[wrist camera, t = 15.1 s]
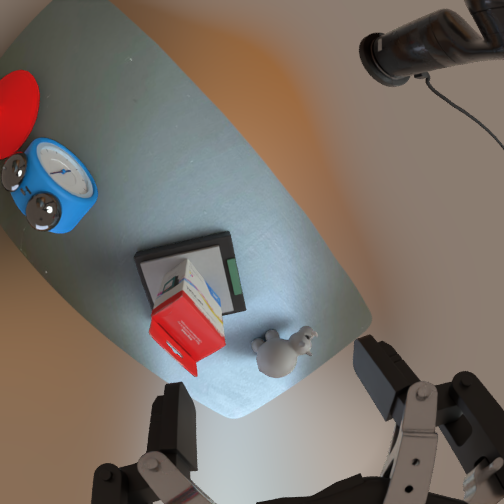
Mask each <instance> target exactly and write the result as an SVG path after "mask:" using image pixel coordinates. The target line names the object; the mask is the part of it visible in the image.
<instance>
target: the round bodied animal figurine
mask: <svg viewBox="0 0 504 504" xmlns="http://www.w3.org/2000/svg"><path fill="white" fill-rule="evenodd" d="M313 336H316V337H318V334H317V332H315V331H314V330H313V329H312V328H311V327H309V326H303V327H302V328H300V330H299V331H298V332H297V333H294V334H293V335H291V337H290V338H289V340H284V339H280V337H279V333H278V332H277V331H276V330H269V331H267V332H266V334H265V339H266V342H264V340H263V339H260V338H257V339H254V340H253V341H252V343H251V347H252V349H253V350H254V352H256V353H257V357H256V360H257V365H258V369H259V371H260V372H262V373H264V374H265V375H267V376H269V377H273V378H280V377H284V376H286V375H288V374H289V373H291V372H292V371H293V369H294V368H295V366H296V363H297V357H298V356H299V355H304V354H307V355H309V356H312V353H311V352H310V349H311V347H312V344H311V339H312V338H313Z"/></svg>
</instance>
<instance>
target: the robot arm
mask: <svg viewBox="0 0 504 504" xmlns="http://www.w3.org/2000/svg"><path fill="white" fill-rule="evenodd" d="M464 2H465V4H466V6H467V8H468V10H469V12H470V14H471V15H472V17H473V19H474V21H475V22H476V24H477V26H478V28H479V30H480V32H481V34H482V36H483V37H481V36H480V35H479V34H478V33H477V32H476V31H475V30H474V29H473V28H472V27H471V26H470V25H469V24H468V23H467V22H466V21H465V20H464V19H463V18H462V17H461V16H460V15H458V14H457V13H456V12H454V11H452V10H450V9H440V10H437V11H435V12H433V13H430V14H428V15H425V16H423V17H421V18H418V19H416V20H414V21H412V22H410V23H407V24H405V25H403V26H401V27H399V28H396V29H394V30H392V31H390V32H388V33H386V34H384V35H382V36H380V37H377V38H376V39H374V40H373V41H372V42H371V43H370V47H369V52H370V56H371V59H372V61H373V63H374V65H375V66H376V68H377V69H378V70H379V71H380V72H381V73H382V74H383V75H385V76H386V77H388V78H390V79H394V80H398V79H402V78H404V77H407V76H412V75H414V77H415V78H417V79H423V78H426V84H427V85H428V87H429V88H430V89H431V90H432V91H433V92H434V93H435V94H436V95H438V96H439V97H440V98H442V99H443V100H445V101H446V102H447V103H449V104H450V105H451V106H453V107H454V108H456V109H458V110H459V111H461V112H462V113H464V114H466V115H467V116H468V117H470V118H471V119H472V120H474V121H475V122H476V123H478V124H479V125H480V126H481V127H483V128H484V129H485V130H486V131H487V132H488V133H489V134H490V135H491V136H492V137H493V138H494V139H495V140H496V141H497V142H498V143H499V144H500V146H501V147H502V148H503V150H504V146H503V145H502V143H501V142H500V141H499V140H498V139H497V138H496V136H495V135H493V134H492V132H491V131H490V130H489V129H488V128H486V127H485V126H484V125H483V124H482V123H481V122H480V121H478V120H477V119H476V118H474V117H473V116H472V115H470V114H469V113H468V112H466V111H465V110H463V109H462V108H460V107H458V106H457V105H455V104H454V103H452V102H451V101H450V100H449V99H447V98H446V97H445V96H443V95H442V94H440V93H439V92H438V91H436V90H435V89H434V88H433V87H432V86H431V84H430V82H429V81H430V75H429V73H428V71H432V70H436V69H441V68H445V67H451V66H455V65H461V64H468V63H473V62H478V61H487V60H504V0H464ZM353 367H354V370H355V372H356V374H357V376H358V377H359V379H360V381H361V382H362V384H363V385H364V387H365V389H366V390H367V392H368V393H369V395H370V396H371V398H372V400H373V402H374V403H375V405H376V406H377V408H378V410H379V411H380V413H381V414H382V416H383V418H384V420H385V421H388V420H390V419H392V418H393V419H394V420H395V422H396V424H395V427H394V431H393V436H392V440H391V444H390V448H389V452H388V455H387V459H386V461H385V464H384V466H383V469H382V472H381V475H380V477H377V476H375V477H374V476H370V477H362V476H361V474H357V475H355V476H352V477H349V478H347V479H344V480H341V481H338V482H336V483H334V484H332V485H331V486H329V487H327V488H325V489H324V490H322V491H320V492H318V493H316V494H315V495H312V496H307V497H285V498H278V499H273V500H268V501H263V502H257V503H256V504H497V503H498V502H499V501H500V500H501V499H503V498H504V411H503V409H502V408H501V406H500V405H499V404H498V403H497V402H496V400H495V399H494V398H493V396H492V395H491V394H490V393H489V392H488V391H487V389H486V388H485V386H483V384H482V383H481V382H480V380H479V379H478V378H477V377H476V376H475V375H474V374H473V373H471V372H468V371H463V372H459V373H457V374H456V375H455V376H454V378H453V380H452V382H448V383H444V384H440V385H433V384H431V383H429V382H426V381H420V380H419V378H418V377H417V376H416V375H415V374H414V372H413V371H412V370H411V369H410V367H409V366H408V365H407V364H406V363H405V361H404V360H402V358H401V357H400V356H399V354H397V352H396V351H395V350H394V348H393V347H392V346H391V345H389V344H387V343H385V342H384V341H381V342H377V341H376V340H375V339H374V338H373V336H371V335H367V336H364V337H361V338H358V339H356V340H355V341H354V353H353ZM150 422H151V423H150V427H149V435H148V445H147V451H146V453H145V454H144V455H142V456H141V458H140V459H139V461H138V462H137V463H135V464H132V465H128V466H124V467H120V468H118V467H117V466H115V465H114V464H111V463H105V464H102V465H100V466H99V467H98V468H97V469H96V470H95V473H94V479H93V488H92V500H91V504H153V502H155V501H159V500H161V501H162V502H163V503H164V504H216V503H215V502H214V501H213V500H212V499H210V497H208V496H207V495H206V494H205V493H204V492H203V491H202V490H201V489H200V488H199V487H198V486H197V485H195V483H194V482H193V481H192V480H191V479H190V471H197V470H198V468H197V445H196V410H195V406H194V403H193V400H192V399H191V397H190V395H189V393H188V391H187V390H186V388H185V386H184V384H183V383H182V382H177V383H170V384H166V385H165V390H164V395H163V396H157V398H156V399H155V401H154V403H153V405H152V411H151V419H150ZM437 426H439V428H440V430H441V431H442V433H443V435H444V436H445V438H446V440H447V441H448V443H449V445H450V446H451V448H452V450H453V451H454V453H455V455H456V456H457V458H458V460H459V461H460V463H461V465H462V467H463V469H464V471H465V473H466V474H467V475H466V477H465V479H464V482H463V490H464V491H465V497H464V500H459V499H455V498H450V497H446V496H442V495H438V494H434V493H431V492H428V491H429V487H430V482H431V477H432V473H433V468H434V462H435V456H436V450H437V442H438V434H437V433H435V427H437Z"/></svg>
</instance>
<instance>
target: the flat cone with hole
mask: <svg viewBox="0 0 504 504" xmlns="http://www.w3.org/2000/svg"><path fill="white" fill-rule="evenodd" d="M39 101H40V93H39V86H38V84H37V82H36V80H35V78H34V77H33V75H31V74H30V73H29V72H28V71H24V70H18V71H13V72H11V73H10V74H8V75H6V76H5V77H3V78H2V79H1V80H0V159H3V158H6V157H9V156H10V155H12V154H13V153H14V152H15V151H17V150H18V149H19V148H20V147H21V146H22V144H23V143H24V142H25V141H26V139H27V138H28V136H29V134H30V132H31V131H32V128H33V126H34V123H35V121H36V118H37V114H38V109H39Z"/></svg>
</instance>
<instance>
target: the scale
mask: <svg viewBox="0 0 504 504" xmlns="http://www.w3.org/2000/svg"><path fill="white" fill-rule="evenodd" d="M186 259H188V260H189V261H190V262H191V263H192V265H193V266H194V267H195V268H196V270H197V271H198V272H199V273H200V275H201V276H202V277H203V278H204V280H205V281H206V282H207V283H208V285H209V286H210V287H211V288H212V289H213V291H214V292H215V293H216V294H217V295H218V297H219V298H220V301H221V311H222V316H224V315H228V314H233V313H237V312H242V311H246V306H245V302H244V297H243V292H242V287H241V283H240V278H239V273H238V268H237V264H236V259H235V254H234V249H233V244H232V239H231V235H230V232H229V231H227V232H223V233H218V234H214V235H209V236H205V237H200V238H196V239H191V240H187V241H182V242H178V243H174V244H169V245H165V246H161V247H156V248H152V249H148V250H144V251H139V252H137V253H136V254H135V256H134V261H135V264H136V267H137V270H138V273H139V276H140V279H141V281H142V284H143V287H144V290H145V293H146V295H147V298H148V301H149V303H150V306H151V309H152V310H153V307H154V304H155V301H156V298H157V295H158V291H159V288H160V285H161V282H162V279H163V276H164V275H166V274H167V273H168V272H170V271H171V270H172V269H174V268H175V267H176V266H178V265H179V264H180V263H182V262H183V261H185V260H186Z"/></svg>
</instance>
